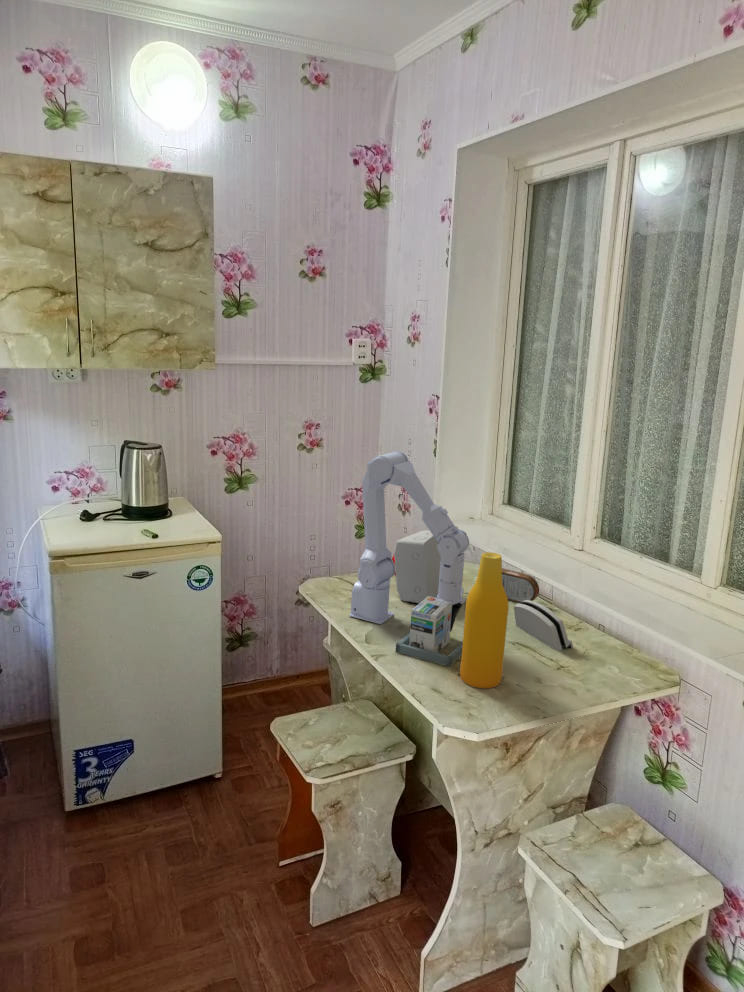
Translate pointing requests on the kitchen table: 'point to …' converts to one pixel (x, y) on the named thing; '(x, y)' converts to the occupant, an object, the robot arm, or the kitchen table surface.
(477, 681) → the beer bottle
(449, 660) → the bay
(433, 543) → the electrical switch box
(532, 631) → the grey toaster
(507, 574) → the tin
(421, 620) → the light bulb box
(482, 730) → the kitchen table surface
